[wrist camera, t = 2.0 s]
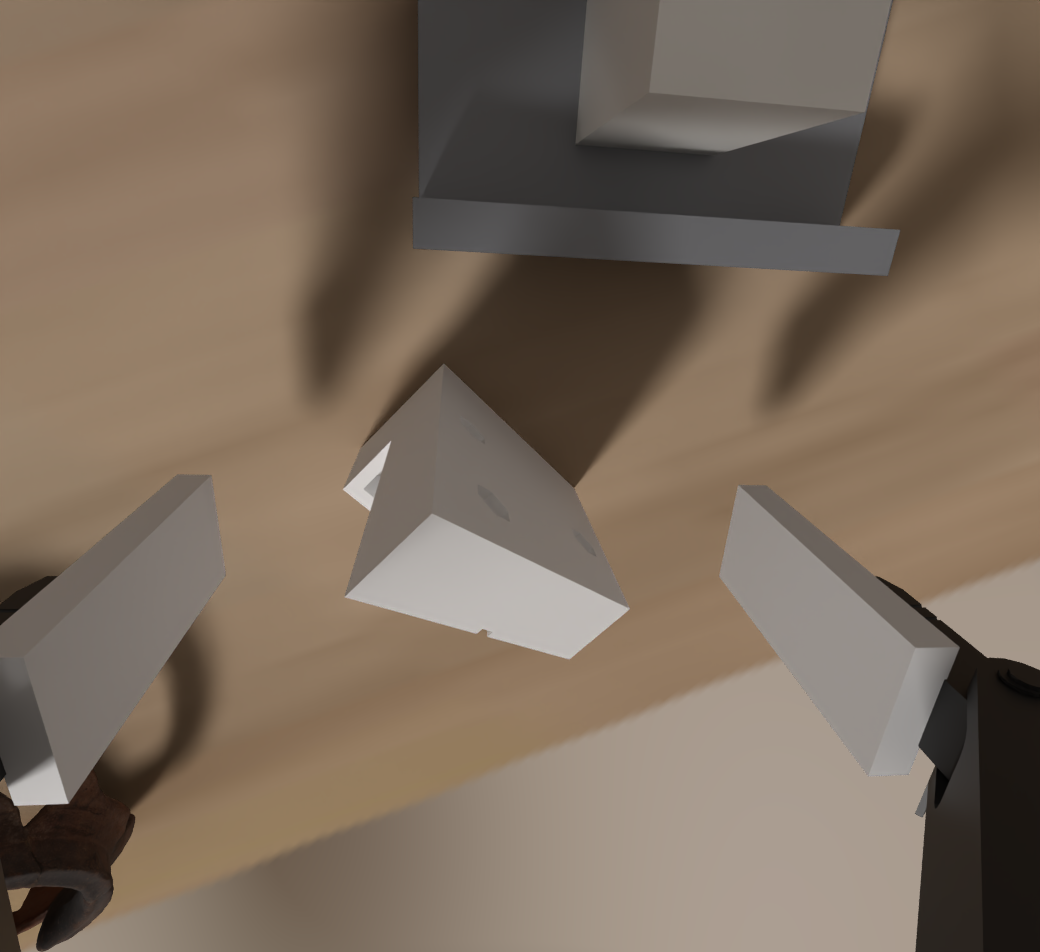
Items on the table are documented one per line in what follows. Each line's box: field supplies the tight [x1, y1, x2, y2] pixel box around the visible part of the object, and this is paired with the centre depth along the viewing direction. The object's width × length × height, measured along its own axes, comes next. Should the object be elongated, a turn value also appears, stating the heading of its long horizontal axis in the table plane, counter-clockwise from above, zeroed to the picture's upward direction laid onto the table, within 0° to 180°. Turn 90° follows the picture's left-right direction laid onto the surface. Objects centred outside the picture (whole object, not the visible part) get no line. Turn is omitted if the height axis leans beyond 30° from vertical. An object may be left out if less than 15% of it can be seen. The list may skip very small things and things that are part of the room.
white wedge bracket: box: [343, 364, 630, 659], centre depth 15 cm, size 4×10×9 cm, turn 44°
